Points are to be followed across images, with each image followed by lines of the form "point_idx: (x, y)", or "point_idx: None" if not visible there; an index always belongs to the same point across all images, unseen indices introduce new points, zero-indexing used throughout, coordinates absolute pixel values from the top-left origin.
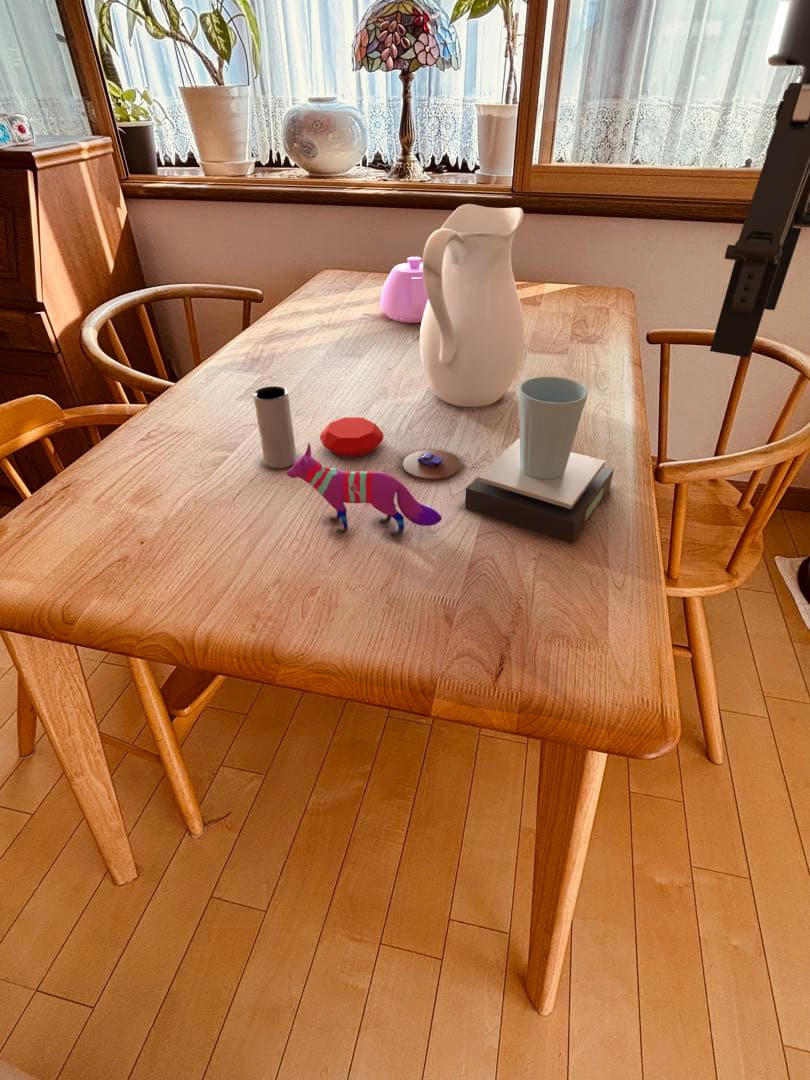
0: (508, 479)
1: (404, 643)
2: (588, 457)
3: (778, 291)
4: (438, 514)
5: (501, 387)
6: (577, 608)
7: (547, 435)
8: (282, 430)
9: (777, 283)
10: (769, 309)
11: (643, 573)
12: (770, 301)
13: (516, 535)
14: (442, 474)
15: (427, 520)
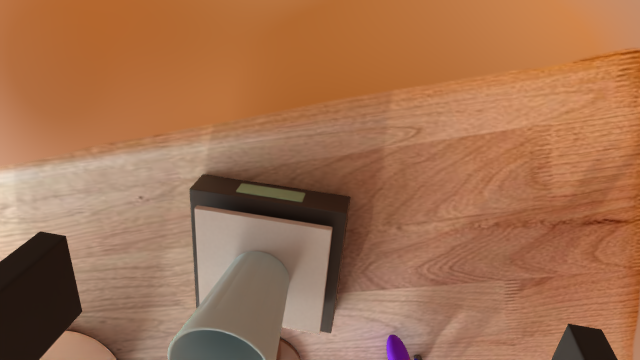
0: (308, 304)
1: (591, 307)
2: (199, 229)
3: (23, 278)
4: (392, 343)
5: (72, 348)
6: (476, 168)
7: (278, 321)
8: None
9: (3, 305)
10: (67, 247)
11: (375, 107)
12: (52, 267)
13: (361, 253)
14: (283, 347)
15: (404, 348)
